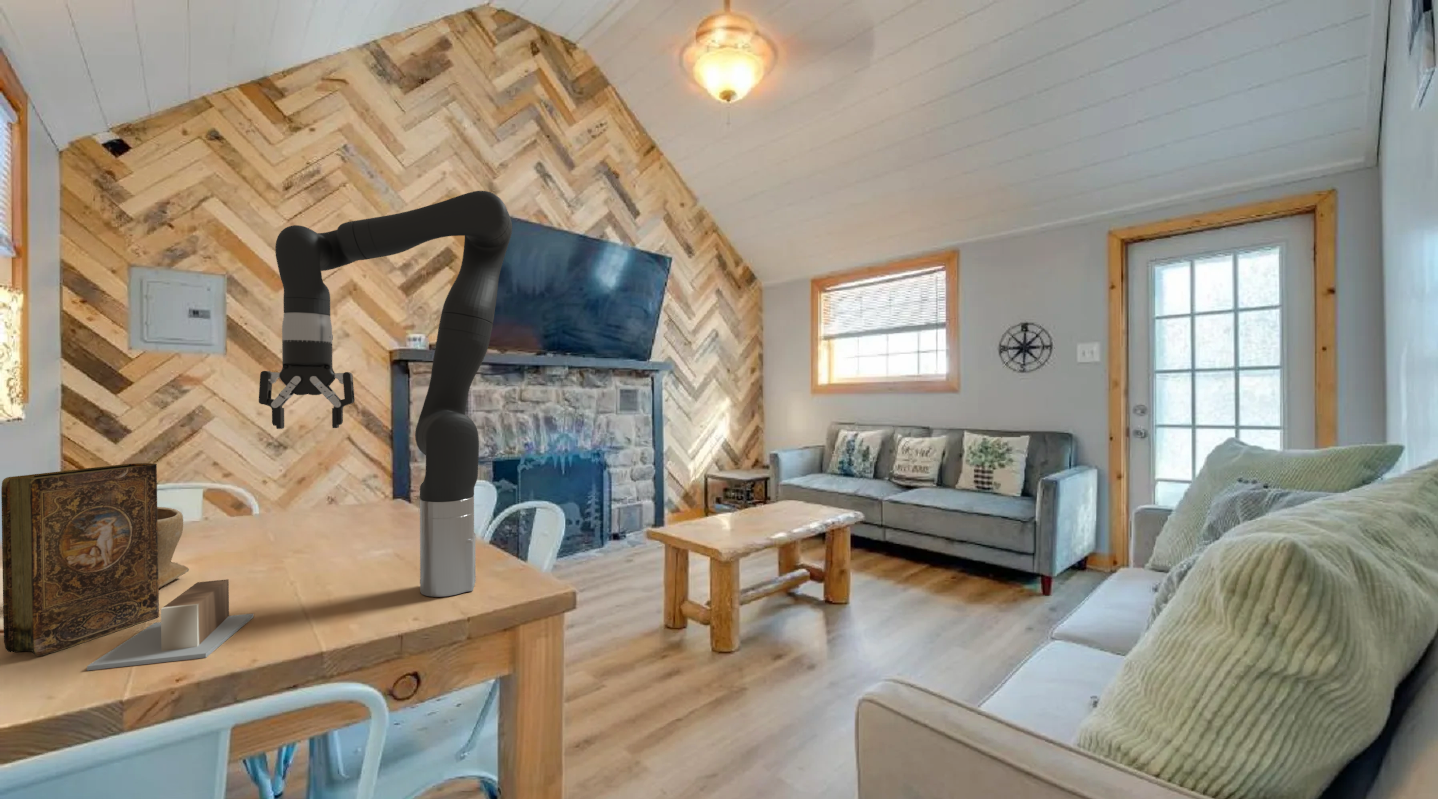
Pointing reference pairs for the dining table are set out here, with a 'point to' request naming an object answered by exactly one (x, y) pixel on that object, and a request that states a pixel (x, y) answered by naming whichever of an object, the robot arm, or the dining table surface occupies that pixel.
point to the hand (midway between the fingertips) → (308, 428)
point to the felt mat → (149, 650)
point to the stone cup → (169, 544)
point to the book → (78, 555)
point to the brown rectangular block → (194, 614)
